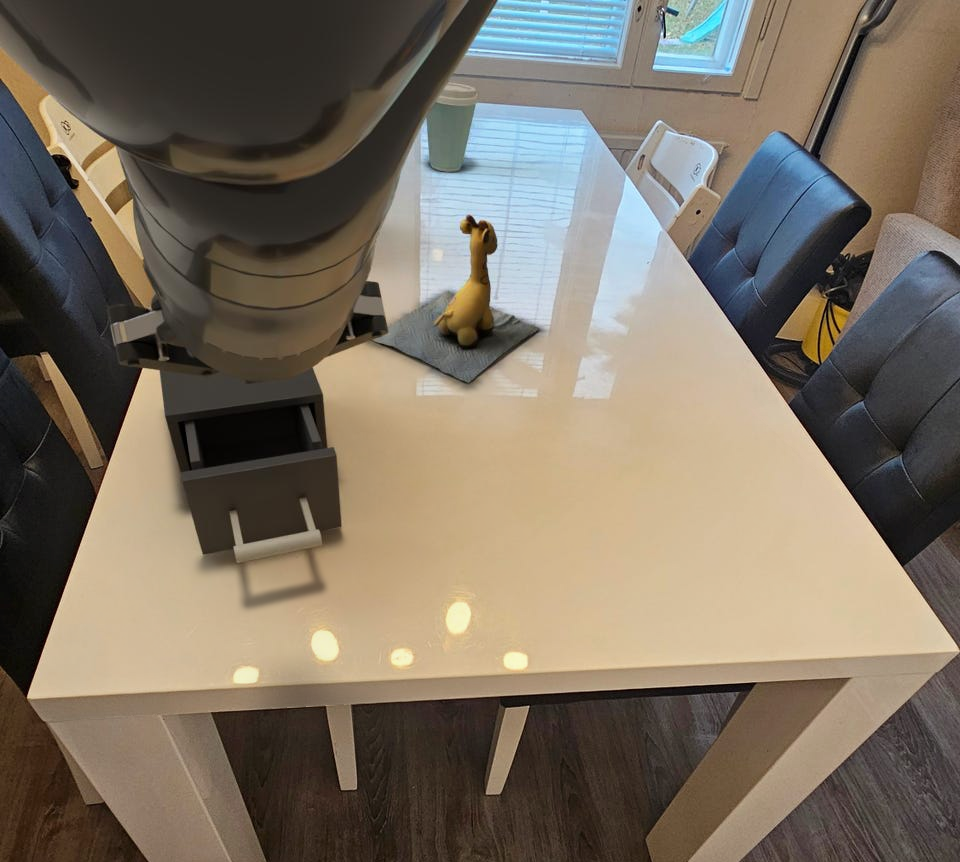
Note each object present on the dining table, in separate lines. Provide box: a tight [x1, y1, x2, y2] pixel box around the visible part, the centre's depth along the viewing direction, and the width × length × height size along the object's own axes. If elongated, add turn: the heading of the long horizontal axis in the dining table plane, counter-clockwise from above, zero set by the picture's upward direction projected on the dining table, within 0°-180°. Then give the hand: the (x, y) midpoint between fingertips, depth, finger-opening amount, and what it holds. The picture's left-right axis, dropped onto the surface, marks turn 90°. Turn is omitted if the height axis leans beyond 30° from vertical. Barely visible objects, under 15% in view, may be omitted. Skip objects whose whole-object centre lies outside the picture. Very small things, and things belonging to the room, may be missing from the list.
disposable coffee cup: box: [425, 81, 479, 173], centre depth 140 cm, size 11×11×15 cm
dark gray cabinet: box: [159, 348, 328, 477], centre depth 72 cm, size 16×14×11 cm
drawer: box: [180, 403, 343, 564], centre depth 65 cm, size 20×13×9 cm, turn 21°
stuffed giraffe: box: [371, 214, 541, 384], centre depth 91 cm, size 16×18×16 cm
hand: (254, 365), depth 41 cm, fingers closed
